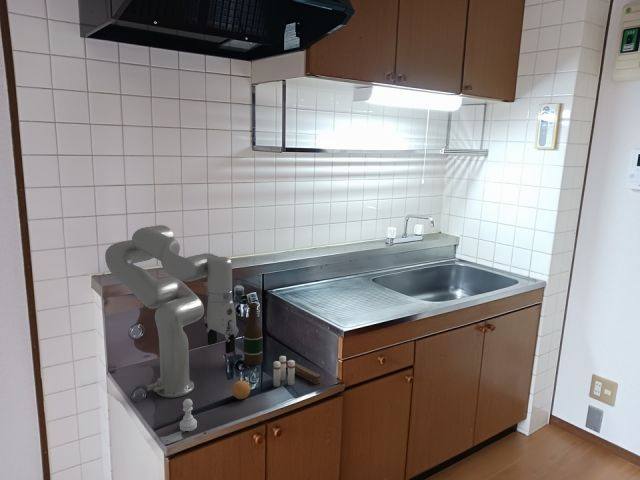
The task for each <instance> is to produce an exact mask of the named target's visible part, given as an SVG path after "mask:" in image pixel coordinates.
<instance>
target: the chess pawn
mask: <svg viewBox="0 0 640 480" xmlns="http://www.w3.org/2000/svg"><path fill="white" fill-rule="evenodd" d="M193 404H194V403H193V400H192V399H191V398H185V399H184V400H183V402H182V407H183V408H182V411H183V412H184V415H183V417H182V420H181V421H180V422H179V429H180V431H182V432H185V431H189V432H192V431H194V430H196V429H197V427H198V425H197V424H198V421H197V419H195V418H194V416H193V414H192V410H194V407H193Z"/></svg>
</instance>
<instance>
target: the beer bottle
mask: <svg viewBox="0 0 640 480" xmlns="http://www.w3.org/2000/svg"><path fill="white" fill-rule="evenodd" d="M263 339H264V337H263V328H262V326H261V324H260V323H259V318H258V303H257V302H250V303H249V304H248V321H247V324H246V325H245V327H244V330H243V361H244V364H245V365H248V366H258V365H261V364H262V363H263V358H264V357H263V355H264V354H263V352H264V351H263V347H264V346H263V345H264V344H263V342H264V341H263Z"/></svg>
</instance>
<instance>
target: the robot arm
mask: <svg viewBox="0 0 640 480" xmlns="http://www.w3.org/2000/svg"><path fill="white" fill-rule="evenodd" d="M131 236H132V237H131V239H129V240H123V241H118V242H115V243H113V244H111V245H110V246H108V248H107V249H106V251H105V255H104V258H105V263H106V267H107V268H108V270H109V273H111V275H112V276H113V277H114V278H115V279H116V280H118V281H119V282H120V283H121V284H123V285H124V286H125V287H126V288H127V289H129V291H130V292H131V293H132V294H133V295H134V296H135V297H136V298H137V299H138V301H140V302H141V303H142V304H143V305H144V306H145V307H146V308H148V309H152V310H153V309H155V313H154V320H155V325H156V328H157V333H158V345H159V346H158V348H159V367H160V368H159V369H160V370H159V371H160V377H158V378H157V381H155V383H150V384H148V385H146V390H147V392H150V391H153V392H154V393H156V394H157V395H159V396H161V397H163V398H179V397H183V396H187V395H188V394H190V393H191V392H193V390H194V389H195V383H194V382H193V380H191V379H190V357H189V355H190V354H189V351H190V349H189V339H188V335H187V334H186V332H185V331H184V329H183V328H184V327H185V326H187V325H190V324H193V323H195V322H198V321H199V320H200V319H201V318H202V317H203V316H204V314H205V307H204V304H203V302H202V300H201V299H200V297H199V296H198V295H197V294H196V293H195V292H194V291H193V290H192V289H190V288H189V287H188V286H187V284H185V283H184V282H193V281H197V280H200V279H203V278H207V307H206V308H207V309H206V315H205V316H204V317H203V320H204V323H205V324H204V326H205V327H206V330H205V331H206V333H207V345H208V346H211V345H214V344H217V342H218V334H217V333H220V334H222V335H224V337H225V339H226V341H225V343H224V344H225V346H224V347H225V348H224V349H225V354H230V353H233V352H235V351H236V344H235V343H236V341H235V340H236V339H237V337H238V336H239V335H238V333H239V331H240V330H239V328H238V326H237V316H236V315H237V314H236V307H235V303H234V301H233V262H232V259H231V258H230V257H227V256H218V255H215V254H213V253H208V252H206V253H200V254H196V255H191V256H186V257H185V256H184V257H183V256H181V255H179V254H180V251H181V248H180V247H181V245H180V243H179V241H178V240H176V239H175V234H174V232H173V230H172V229H171V228H170V227H168V226H166V225H162V224H160V225H152V226H145V227H141V228H138V229H137V230H136V231H134V232H133V234H132V235H131ZM152 259H155V260H158V261H160V263H161V267H162V268H163V270H164V271H165V272H166V273H167V274H168V275H169V276H168V277H163V278H155V277H154V276H152V275H151V274H150V273H149V271H147V270H146V269H144V268H143V267H140V266H138V265H136V264H138V263H142V262H147V261H150V260H152Z"/></svg>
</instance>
